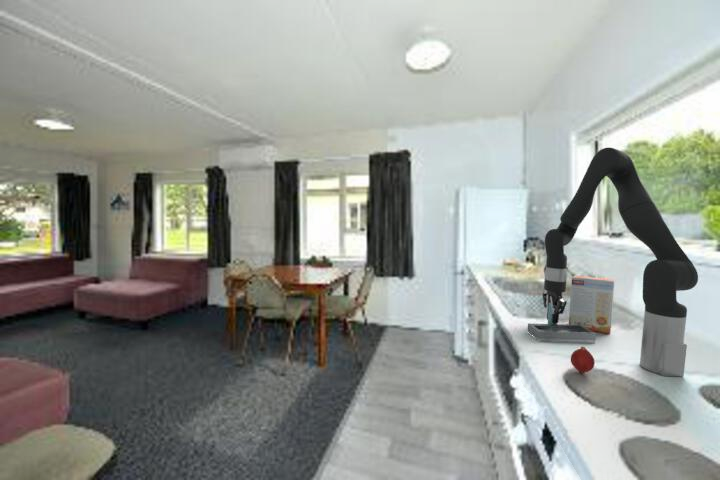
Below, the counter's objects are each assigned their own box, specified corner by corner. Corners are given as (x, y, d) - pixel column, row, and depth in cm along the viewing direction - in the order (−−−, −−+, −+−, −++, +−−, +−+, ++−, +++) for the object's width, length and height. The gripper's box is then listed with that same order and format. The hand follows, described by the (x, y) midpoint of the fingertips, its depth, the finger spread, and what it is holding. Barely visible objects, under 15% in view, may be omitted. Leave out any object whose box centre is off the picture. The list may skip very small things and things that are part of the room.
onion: (571, 366, 103) (573, 340, 102) (594, 372, 99) (596, 346, 98) (568, 373, 98) (570, 346, 98) (592, 379, 95) (594, 352, 94)
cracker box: (610, 330, 136) (615, 279, 134) (610, 334, 131) (614, 281, 129) (569, 323, 145) (573, 274, 143) (568, 326, 140) (571, 276, 138)
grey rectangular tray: (595, 343, 122) (595, 333, 122) (538, 341, 123) (539, 331, 122) (579, 334, 131) (580, 324, 131) (527, 332, 132) (527, 323, 131)
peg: (563, 331, 133) (565, 306, 132) (548, 331, 133) (549, 306, 133) (555, 326, 139) (557, 302, 138) (540, 326, 139) (542, 302, 139)
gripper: (575, 282, 128) (572, 327, 129) (555, 275, 142) (552, 316, 143) (555, 282, 128) (552, 327, 129) (537, 275, 142) (534, 315, 143)
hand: (552, 321), depth 136 cm, fingers closed on peg, 3 cm apart
